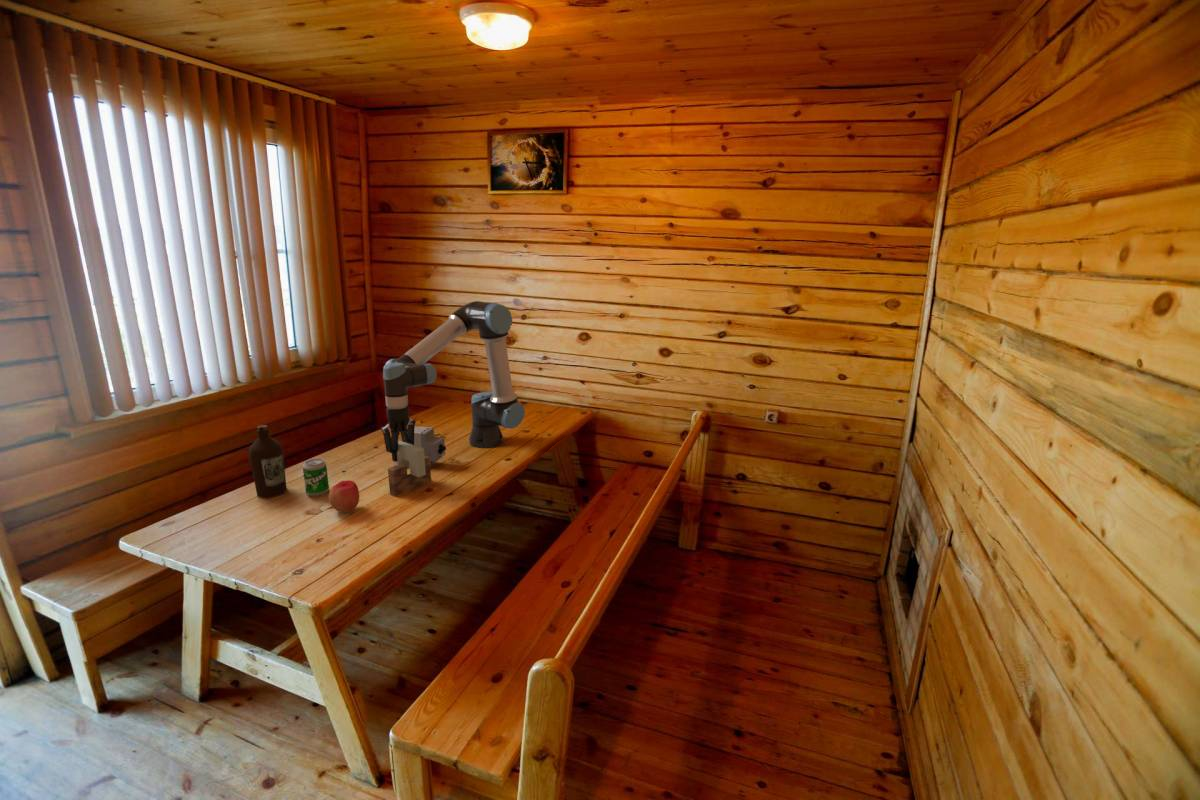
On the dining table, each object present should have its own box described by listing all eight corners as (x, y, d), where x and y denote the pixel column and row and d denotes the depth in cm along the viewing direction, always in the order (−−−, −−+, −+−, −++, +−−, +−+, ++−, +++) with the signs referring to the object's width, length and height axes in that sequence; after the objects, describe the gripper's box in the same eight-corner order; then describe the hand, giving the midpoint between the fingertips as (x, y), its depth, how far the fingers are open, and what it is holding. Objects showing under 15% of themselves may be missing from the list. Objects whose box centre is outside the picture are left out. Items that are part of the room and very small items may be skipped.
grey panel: (394, 468, 213) (392, 442, 211) (401, 465, 216) (399, 440, 213) (418, 477, 206) (417, 450, 203) (425, 474, 208) (423, 448, 205)
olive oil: (249, 493, 206) (238, 427, 199) (279, 483, 214) (270, 419, 207) (263, 501, 200) (253, 433, 193) (294, 491, 208) (285, 425, 201)
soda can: (306, 490, 209) (302, 459, 206) (329, 487, 212) (326, 456, 209) (305, 498, 202) (301, 467, 199) (329, 495, 205) (325, 464, 202)
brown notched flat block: (426, 480, 220) (424, 455, 217) (431, 482, 218) (429, 457, 215) (390, 494, 207) (387, 468, 204) (395, 496, 205) (393, 470, 203)
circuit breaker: (441, 470, 229) (439, 435, 225) (408, 467, 231) (405, 432, 227) (449, 463, 236) (447, 429, 232) (417, 460, 239) (415, 426, 234)
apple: (339, 504, 199) (336, 477, 196) (366, 504, 199) (363, 478, 196) (325, 517, 190) (322, 489, 187) (354, 517, 189) (351, 489, 187)
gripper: (409, 399, 215) (413, 458, 221) (371, 409, 202) (376, 471, 209) (422, 403, 211) (426, 463, 217) (384, 413, 198) (389, 476, 204)
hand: (402, 467), depth 213 cm, fingers closed on grey panel, 3 cm apart
